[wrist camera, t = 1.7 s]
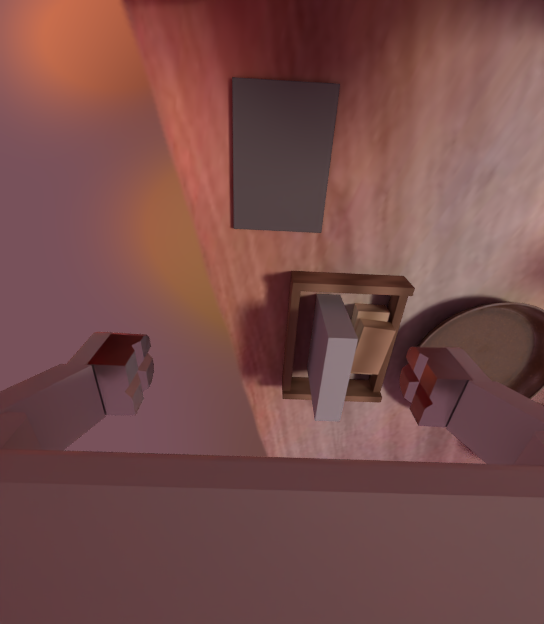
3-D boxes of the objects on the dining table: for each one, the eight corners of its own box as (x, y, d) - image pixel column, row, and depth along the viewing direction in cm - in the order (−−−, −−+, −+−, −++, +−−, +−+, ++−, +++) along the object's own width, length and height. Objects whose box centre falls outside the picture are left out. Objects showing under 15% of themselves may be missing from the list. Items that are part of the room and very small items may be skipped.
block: (340, 294, 41) (358, 339, 32) (327, 367, 47) (339, 421, 38) (316, 293, 41) (328, 337, 32) (307, 366, 47) (314, 420, 38)
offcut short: (390, 322, 41) (395, 330, 39) (373, 364, 44) (377, 374, 42) (360, 318, 40) (364, 326, 39) (345, 361, 44) (348, 371, 42)
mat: (339, 84, 30) (340, 83, 30) (320, 232, 37) (321, 232, 37) (232, 77, 30) (232, 77, 30) (234, 227, 37) (233, 228, 36)
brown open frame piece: (403, 276, 40) (414, 288, 37) (373, 385, 49) (380, 402, 46) (291, 270, 39) (293, 282, 36) (282, 381, 48) (282, 398, 45)
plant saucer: (555, 271, 40) (577, 282, 37) (542, 389, 49) (559, 405, 47) (388, 317, 43) (396, 330, 40) (407, 419, 53) (414, 436, 50)
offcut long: (384, 303, 42) (390, 312, 40) (367, 363, 47) (372, 374, 45) (354, 301, 42) (358, 311, 40) (340, 361, 47) (344, 372, 45)
